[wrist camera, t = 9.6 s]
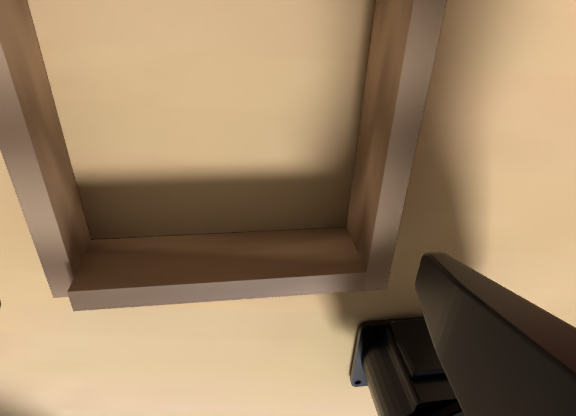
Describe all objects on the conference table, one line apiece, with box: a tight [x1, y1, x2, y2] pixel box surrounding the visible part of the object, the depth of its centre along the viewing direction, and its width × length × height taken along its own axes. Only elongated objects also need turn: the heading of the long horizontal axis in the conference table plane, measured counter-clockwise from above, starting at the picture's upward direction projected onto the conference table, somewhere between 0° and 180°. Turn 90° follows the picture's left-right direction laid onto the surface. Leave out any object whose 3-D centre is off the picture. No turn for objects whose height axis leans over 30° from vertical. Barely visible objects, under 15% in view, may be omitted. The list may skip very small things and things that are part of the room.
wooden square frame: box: [0, 0, 447, 311], centre depth 18 cm, size 16×16×4 cm
